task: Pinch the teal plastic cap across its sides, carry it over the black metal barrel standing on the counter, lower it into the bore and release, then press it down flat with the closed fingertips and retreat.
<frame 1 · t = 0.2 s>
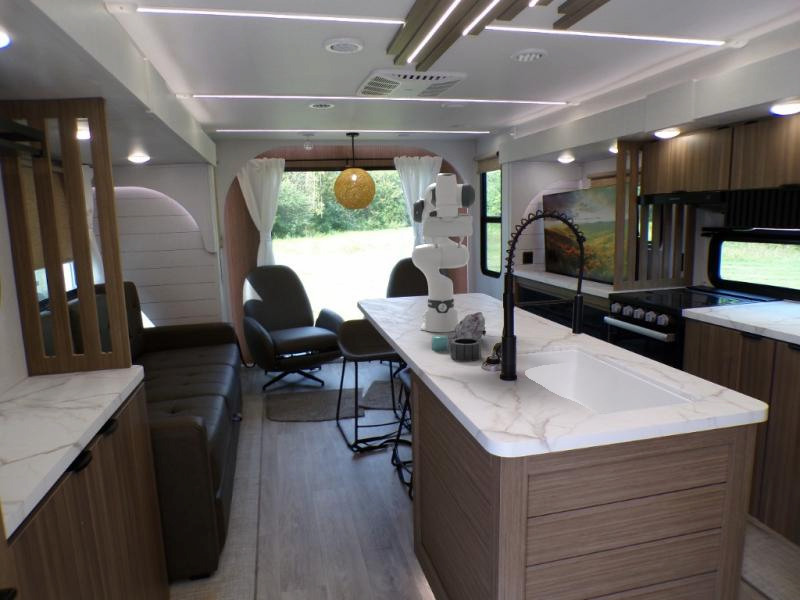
hand: (447, 248, 216), 39 cm above the counter, fingers open, 8 cm apart
rock: (467, 342, 221), on the counter
barrel: (465, 357, 197), on the counter
cap: (439, 349, 209), on the counter
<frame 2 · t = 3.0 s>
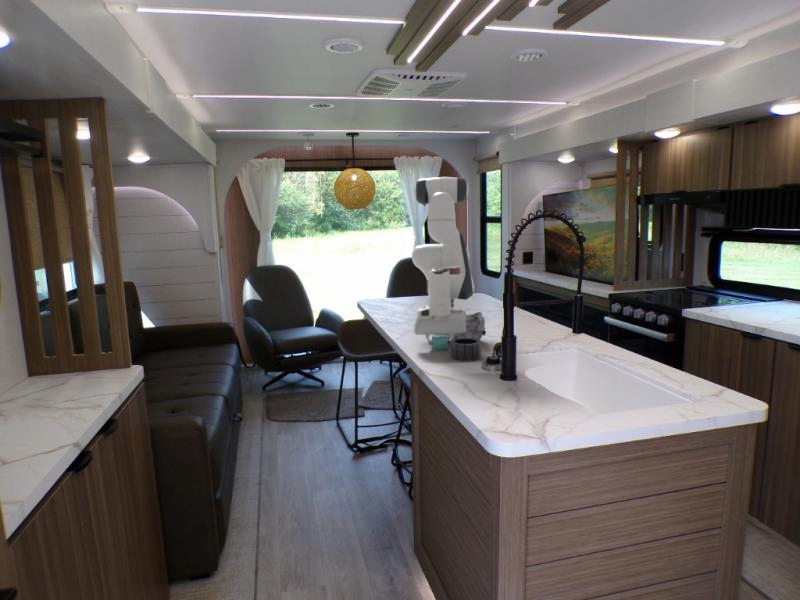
hand: (439, 345, 209), 2 cm above the counter, fingers closed on cap, 6 cm apart
cap: (439, 349, 209), on the counter, touching gripper
everything else where it was.
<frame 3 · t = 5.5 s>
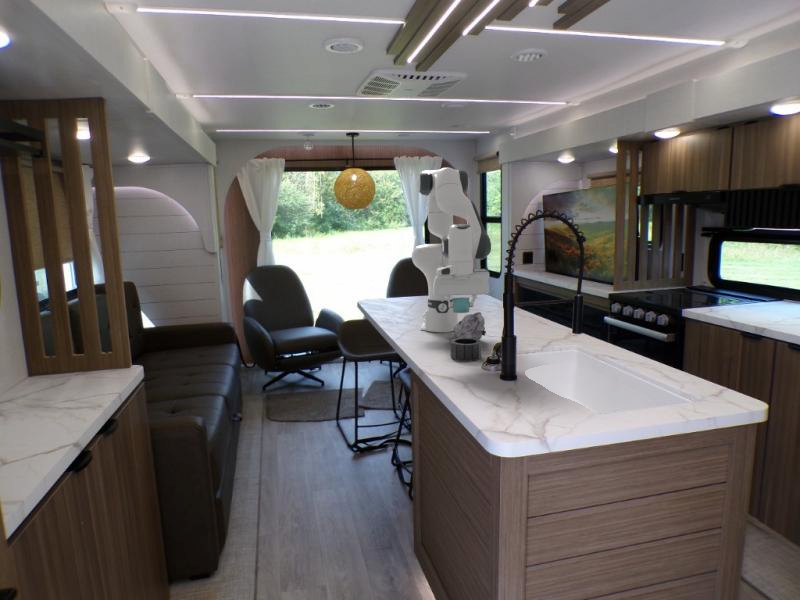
hand: (461, 307, 195), 18 cm above the counter, fingers closed on cap, 6 cm apart
cap: (461, 311, 196), point 17 cm above the counter, touching gripper
everything else where it was.
when the fingers open (7 cm above the counter, at t = 7.7 s): cap drops 5 cm, resting on barrel.
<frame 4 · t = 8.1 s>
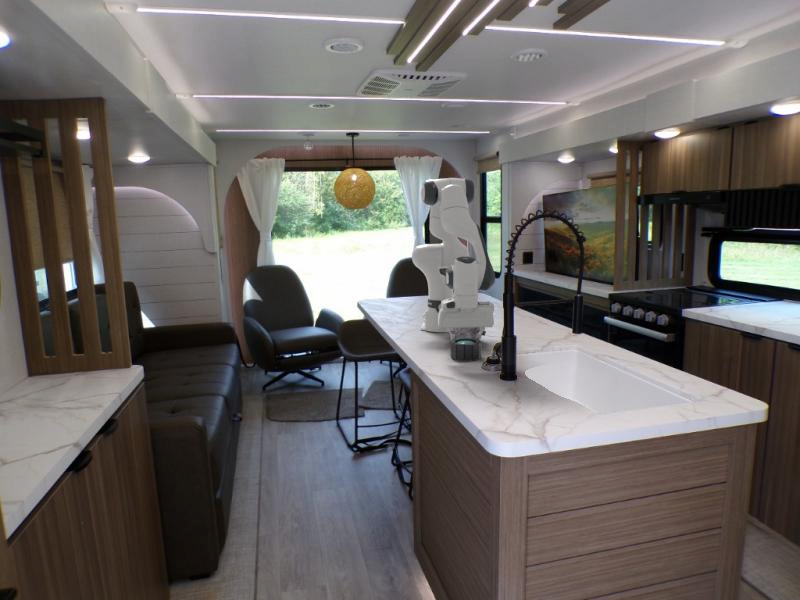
hand: (465, 339, 196), 7 cm above the counter, fingers open, 8 cm apart
cap: (465, 355, 197), point 1 cm above the counter, touching barrel
everything else where it was.
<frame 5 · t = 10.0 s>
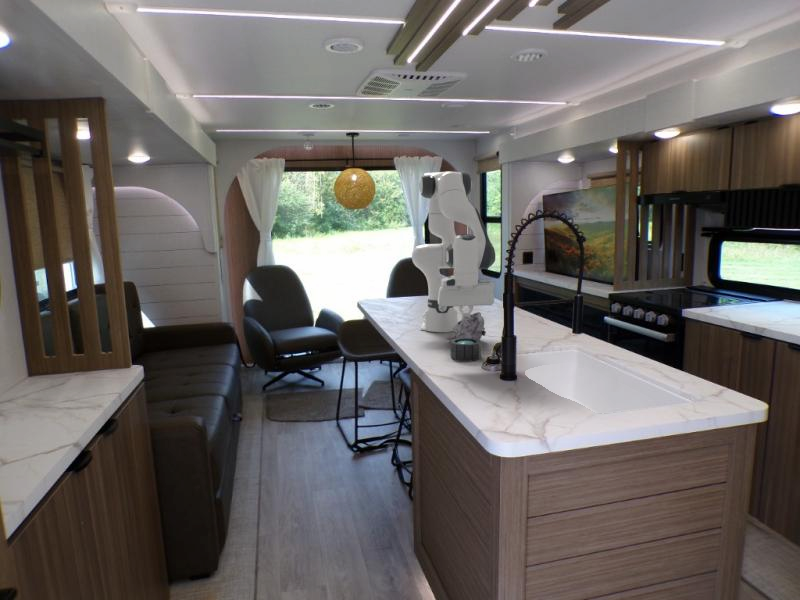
hand: (465, 317, 195), 15 cm above the counter, fingers closed
nothing on the counter moved.
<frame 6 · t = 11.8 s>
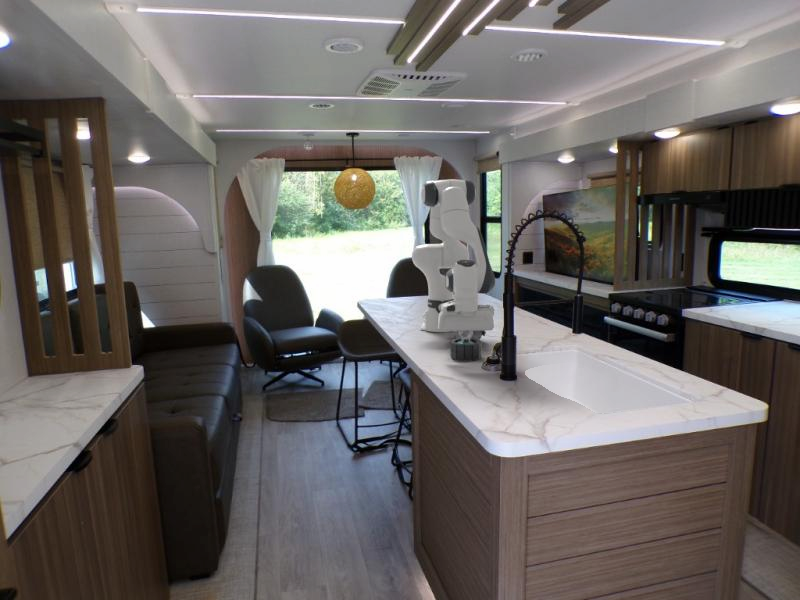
hand: (465, 342, 196), 5 cm above the counter, fingers closed, pressing on cap
cap: (465, 355, 197), resting on barrel, touching gripper
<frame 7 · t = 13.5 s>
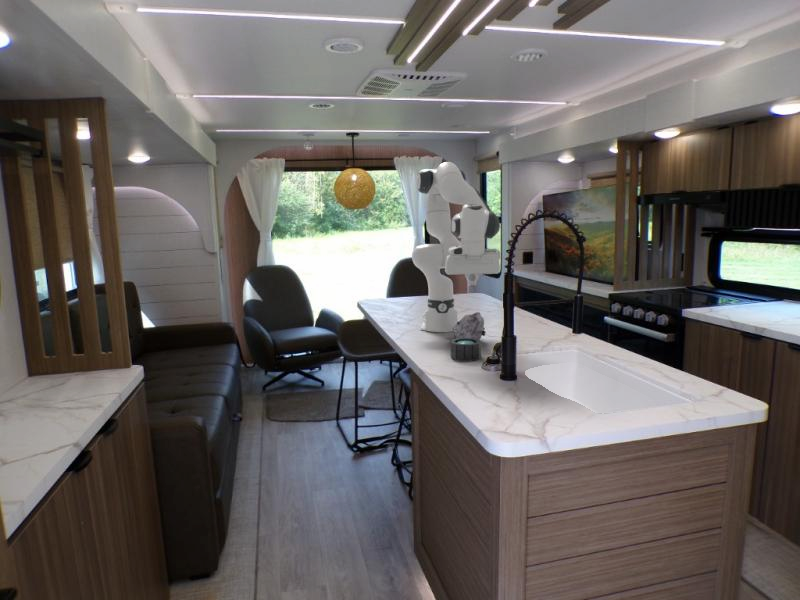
hand: (472, 286, 200), 25 cm above the counter, fingers closed
cap: (465, 355, 197), resting on barrel
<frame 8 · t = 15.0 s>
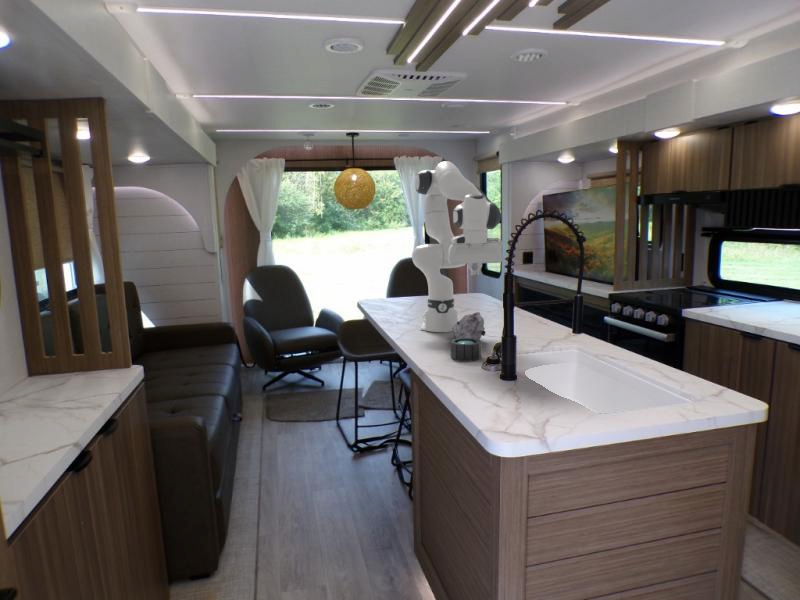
hand: (474, 275, 202), 29 cm above the counter, fingers closed
at the end: cap 0.0 cm off-centre on the barrel, point 0.5 cm above the barrel's base; cap tilted 0°; the gripper is holding nothing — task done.
